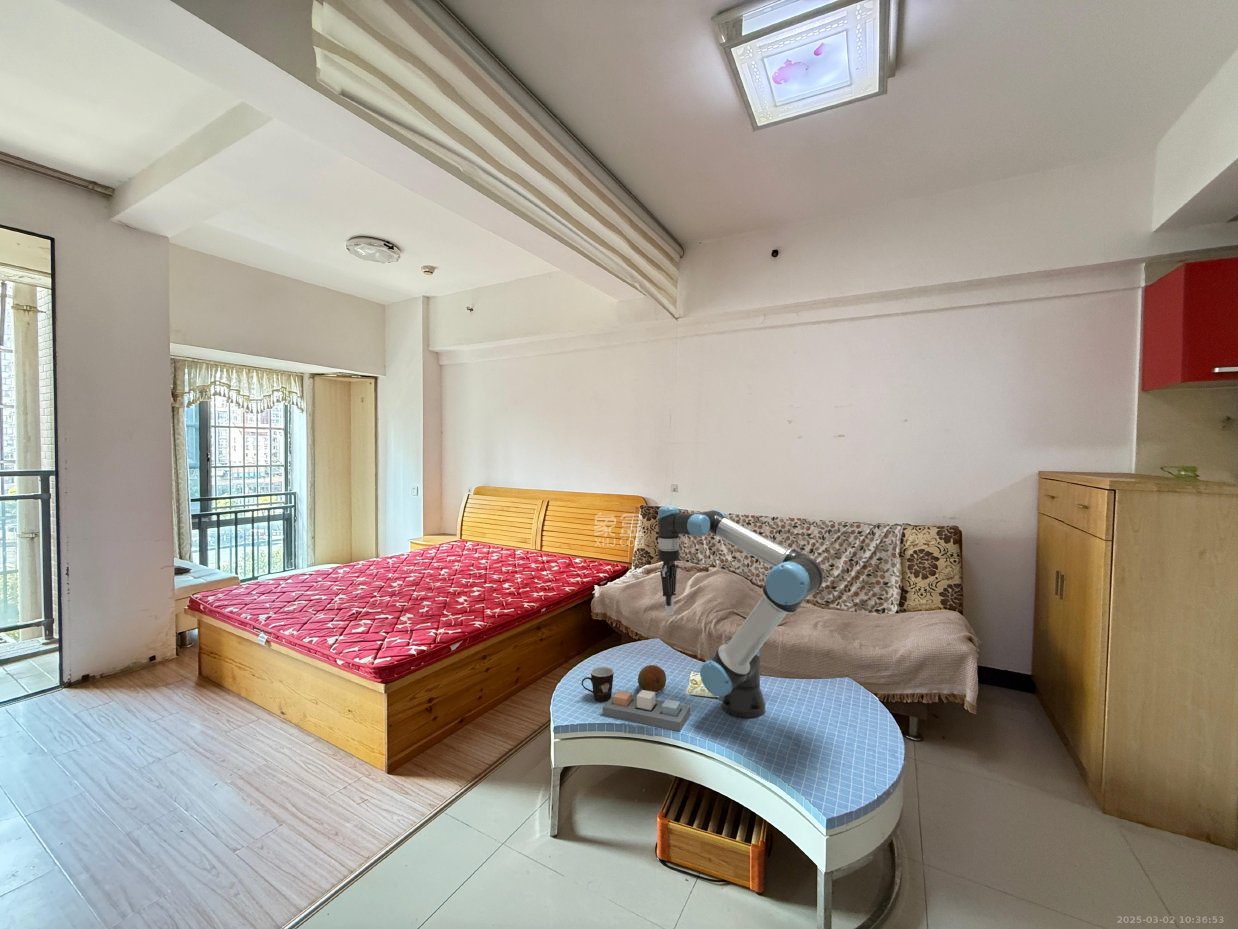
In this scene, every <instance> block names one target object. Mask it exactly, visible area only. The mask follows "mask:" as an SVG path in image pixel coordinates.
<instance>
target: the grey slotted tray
mask: <svg viewBox="0 0 1238 929" xmlns="http://www.w3.org/2000/svg"><path fill="white" fill-rule="evenodd" d="M617 692H618V691H617ZM617 692H615V693H614V695H615V694H616V693H617ZM614 695H613V696H614ZM613 696H611V699H610V700H609V701H608V702H605V703H604V704H603V705H602V716H603V717H608V718H613V719H616V720H617V719H618V720H623V721H628V722H633V723H636V724H637V723H638V724H642V725H647V726H650V727H651V726H652V727H656V728H661V729H666V730H671V731H675V732H681V731H682V729H683V728H684V726H685V724H686V723H687V721H688V720H689V718H690V717H691V705H686V704H682V703H680V714H679V715H678V717H673V716H668V715H663V714H662V705H663V703H664V702H665V701H666V700H660V699H656V704H655V705H654V706H653V708H652V709H651V710H647V709H642V708H637V695H634V694H633V695H632V702H631V704H630V705H629V706H628V707H623V706H618V705H613Z"/></svg>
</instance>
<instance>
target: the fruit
mask: <svg viewBox="0 0 1238 929" xmlns="http://www.w3.org/2000/svg"><path fill="white" fill-rule="evenodd" d="M637 684H638V686H639V688H640V689H641V690H646V691H651V692H655V694H656V693H658V692H659V693H660V692H661V691H662V690H663V689H664V688H665V687H666V684H667V675H666V672H665V670H664V669H663V668H661V667H660V666H658V665H656V664H655V665H654V664H649V665H646V666H644V667H643V668H641V669H640V672H639V673H638V676H637Z"/></svg>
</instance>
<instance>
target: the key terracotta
mask: <svg viewBox="0 0 1238 929" xmlns="http://www.w3.org/2000/svg"><path fill="white" fill-rule="evenodd" d="M615 693H616V692H615ZM615 693H614V694H615ZM632 694H633V693H632V692H628V691H624V690H618V691H617V693H616V694H615V695H613V696H612V697H613V705H618V706H623V707H628V706H629V705H630V704H631V702H632Z"/></svg>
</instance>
